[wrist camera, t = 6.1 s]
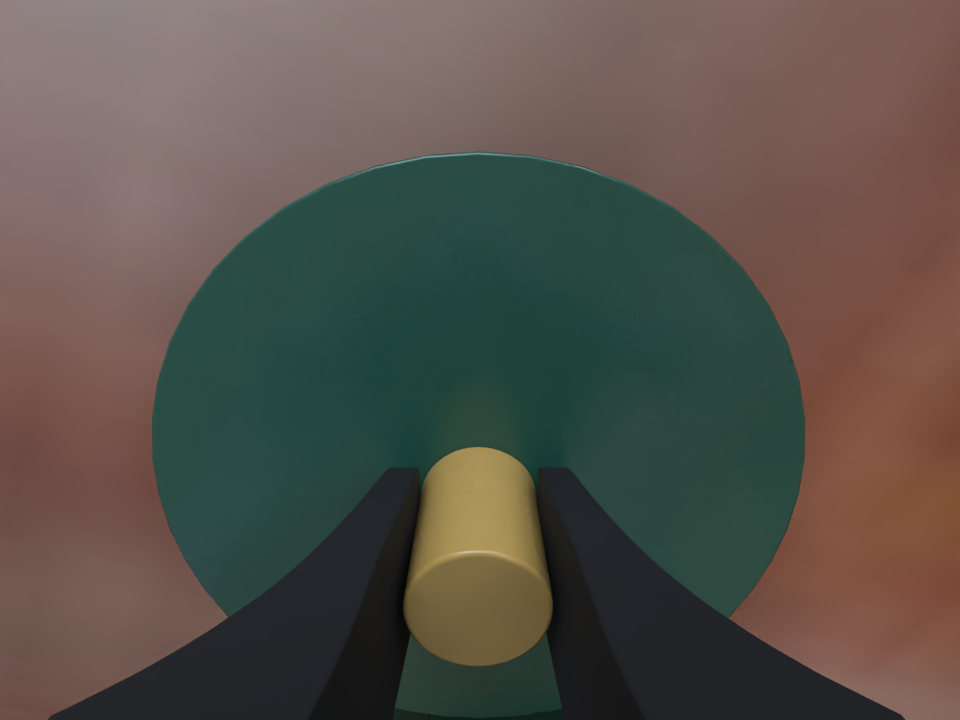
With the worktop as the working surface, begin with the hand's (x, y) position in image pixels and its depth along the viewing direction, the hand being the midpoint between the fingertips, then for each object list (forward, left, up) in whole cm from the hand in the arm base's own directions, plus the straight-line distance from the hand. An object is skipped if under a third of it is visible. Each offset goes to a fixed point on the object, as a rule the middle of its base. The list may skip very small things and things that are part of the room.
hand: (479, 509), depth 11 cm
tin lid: (0, 0, -1) cm, 1 cm away
